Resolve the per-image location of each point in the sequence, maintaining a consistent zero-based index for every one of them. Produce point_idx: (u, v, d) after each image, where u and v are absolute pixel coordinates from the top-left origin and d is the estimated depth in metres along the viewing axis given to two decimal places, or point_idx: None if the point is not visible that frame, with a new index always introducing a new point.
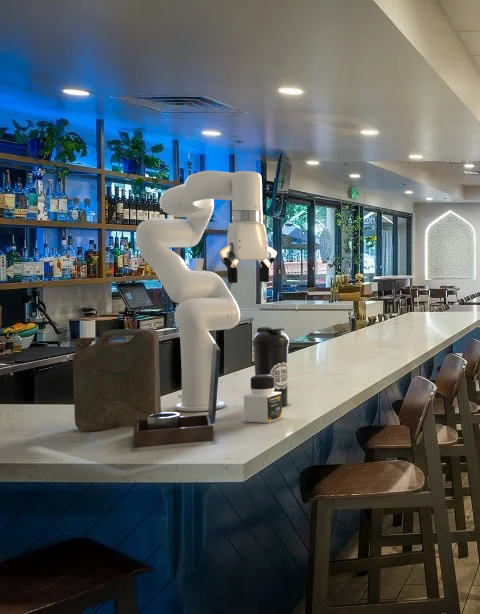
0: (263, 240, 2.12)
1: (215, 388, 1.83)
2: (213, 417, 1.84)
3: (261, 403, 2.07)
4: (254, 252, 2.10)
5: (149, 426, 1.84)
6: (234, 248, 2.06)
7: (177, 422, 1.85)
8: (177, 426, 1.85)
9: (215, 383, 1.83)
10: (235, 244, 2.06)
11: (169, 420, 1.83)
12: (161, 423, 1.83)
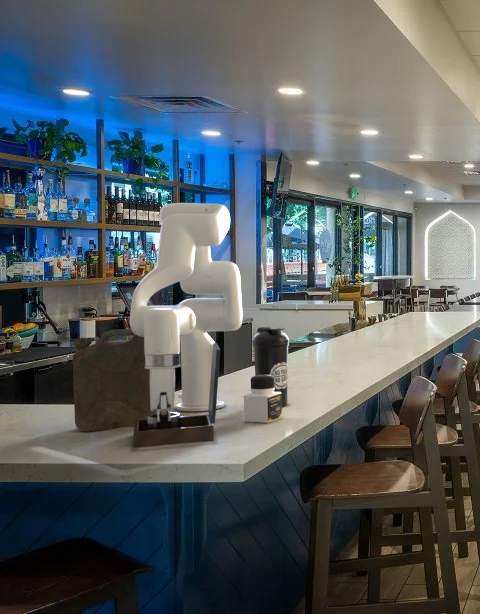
0: None
1: (215, 388, 1.83)
2: (213, 417, 1.84)
3: (261, 403, 2.07)
4: None
5: (149, 426, 1.84)
6: (169, 398, 1.82)
7: (177, 422, 1.85)
8: (177, 426, 1.85)
9: (215, 383, 1.83)
10: (170, 393, 1.82)
11: None
12: None
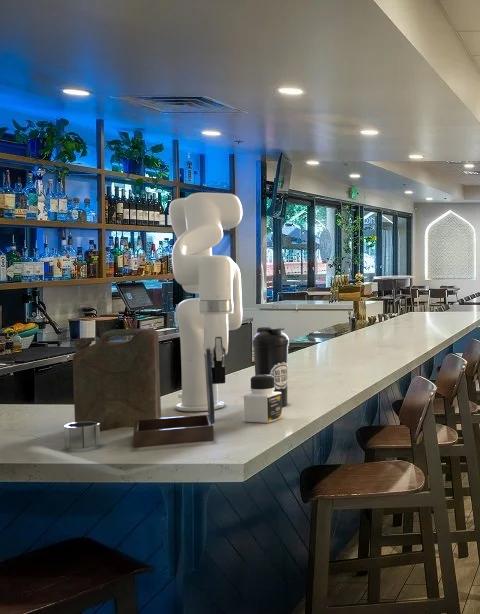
0: None
1: (210, 388, 1.83)
2: (212, 417, 1.84)
3: (261, 403, 2.07)
4: None
5: (65, 436, 1.77)
6: (224, 342, 1.86)
7: (95, 431, 1.79)
8: (95, 436, 1.79)
9: (210, 383, 1.83)
10: (225, 338, 1.86)
11: (86, 429, 1.77)
12: (77, 432, 1.76)
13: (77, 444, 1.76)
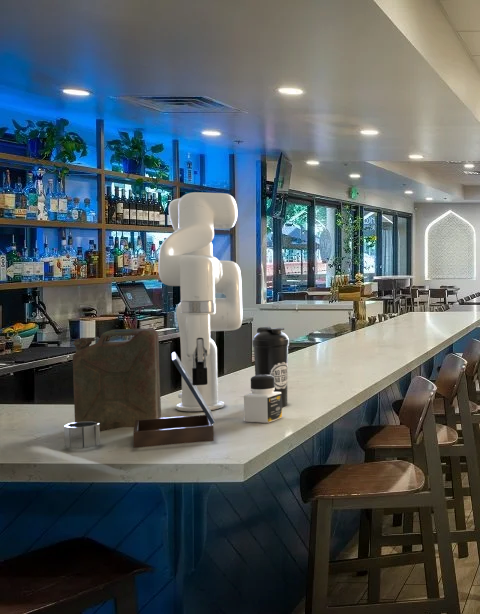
0: None
1: (194, 393, 1.82)
2: (209, 418, 1.83)
3: (261, 403, 2.07)
4: None
5: (65, 436, 1.77)
6: (205, 343, 1.84)
7: (95, 431, 1.79)
8: (95, 436, 1.79)
9: (191, 389, 1.81)
10: (207, 339, 1.84)
11: (86, 429, 1.77)
12: (77, 432, 1.76)
13: (77, 444, 1.76)
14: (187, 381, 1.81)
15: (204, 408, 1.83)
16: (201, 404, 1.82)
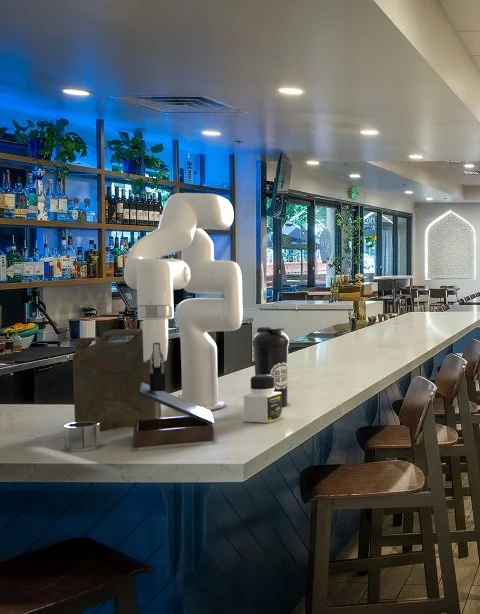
0: None
1: (178, 409, 1.80)
2: (207, 421, 1.83)
3: (261, 403, 2.07)
4: None
5: (65, 436, 1.77)
6: (162, 349, 1.80)
7: (95, 431, 1.79)
8: (95, 436, 1.79)
9: (173, 407, 1.80)
10: (164, 344, 1.80)
11: (86, 429, 1.77)
12: (77, 432, 1.76)
13: (77, 444, 1.76)
14: (164, 403, 1.79)
15: (196, 416, 1.82)
16: (191, 414, 1.82)
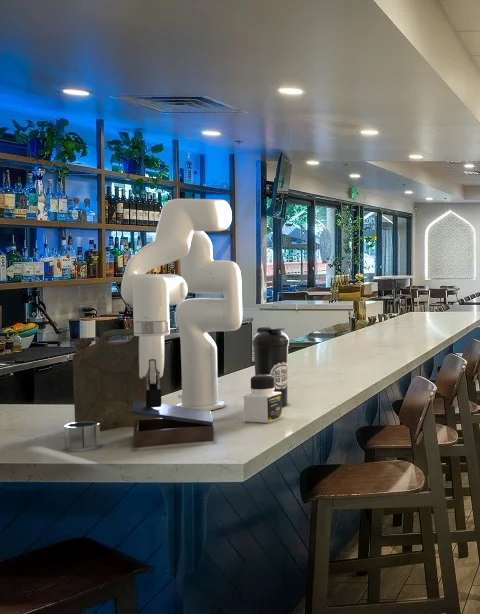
0: None
1: (174, 418, 1.80)
2: (206, 422, 1.83)
3: (261, 403, 2.07)
4: None
5: (65, 436, 1.77)
6: (158, 365, 1.80)
7: (95, 431, 1.79)
8: (95, 436, 1.79)
9: (169, 418, 1.80)
10: (159, 360, 1.80)
11: (86, 429, 1.77)
12: (77, 432, 1.76)
13: (77, 444, 1.76)
14: (159, 416, 1.79)
15: (194, 420, 1.82)
16: (188, 420, 1.81)
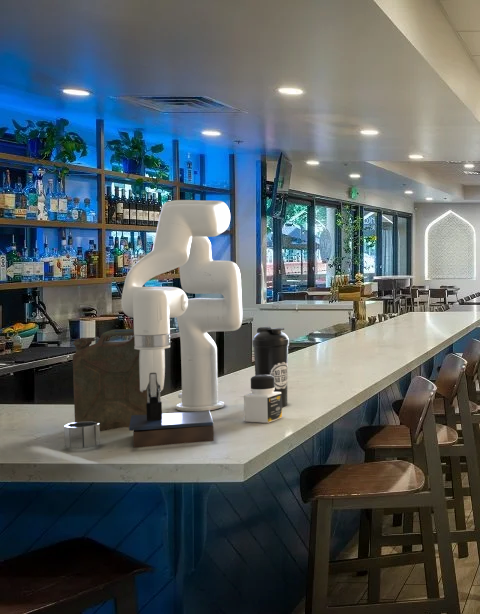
0: None
1: (174, 426, 1.80)
2: (206, 424, 1.83)
3: (261, 403, 2.07)
4: None
5: (65, 436, 1.77)
6: (159, 378, 1.80)
7: (95, 431, 1.79)
8: (95, 436, 1.79)
9: (168, 427, 1.80)
10: (160, 374, 1.80)
11: (86, 429, 1.77)
12: (77, 432, 1.76)
13: (77, 444, 1.76)
14: (158, 427, 1.79)
15: (193, 424, 1.82)
16: (188, 425, 1.81)
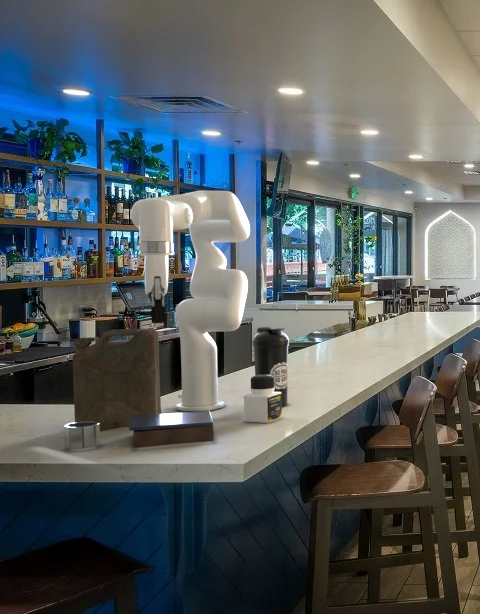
0: None
1: (174, 426, 1.80)
2: (206, 424, 1.83)
3: (261, 403, 2.07)
4: None
5: (65, 436, 1.77)
6: (163, 282, 1.93)
7: (95, 431, 1.79)
8: (95, 436, 1.79)
9: (168, 427, 1.80)
10: (164, 278, 1.93)
11: (86, 429, 1.77)
12: (77, 432, 1.76)
13: (77, 444, 1.76)
14: (158, 427, 1.79)
15: (193, 424, 1.82)
16: (188, 425, 1.81)
